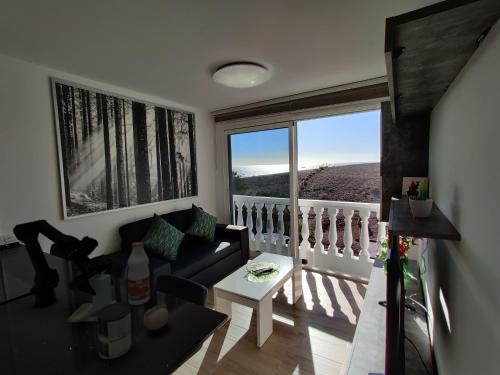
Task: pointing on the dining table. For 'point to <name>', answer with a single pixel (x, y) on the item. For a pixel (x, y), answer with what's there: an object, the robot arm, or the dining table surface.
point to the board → (85, 313)
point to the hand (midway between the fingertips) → (104, 289)
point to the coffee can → (114, 330)
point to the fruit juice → (138, 275)
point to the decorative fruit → (156, 317)
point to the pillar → (101, 291)
